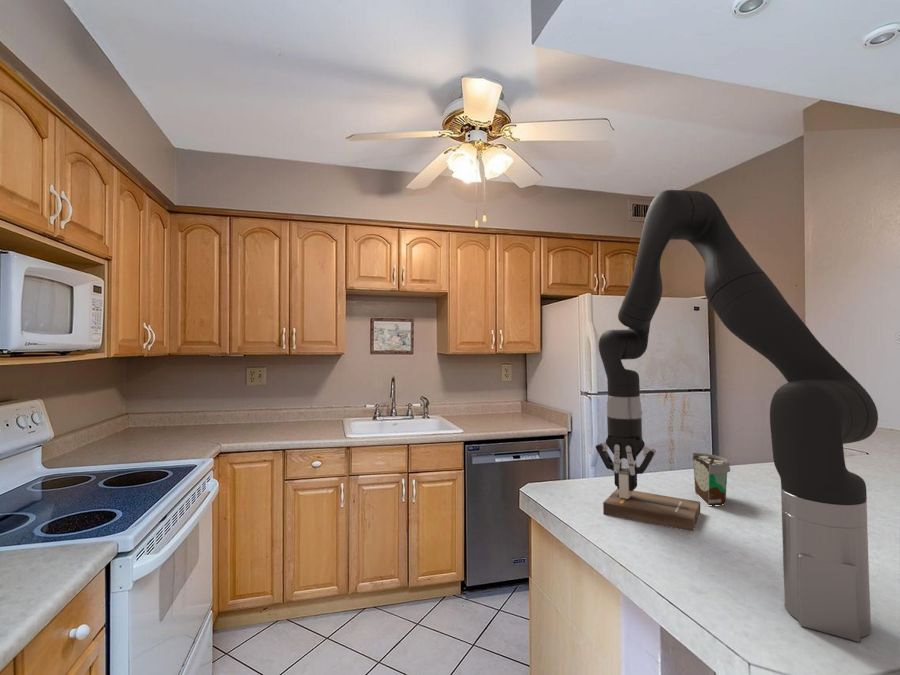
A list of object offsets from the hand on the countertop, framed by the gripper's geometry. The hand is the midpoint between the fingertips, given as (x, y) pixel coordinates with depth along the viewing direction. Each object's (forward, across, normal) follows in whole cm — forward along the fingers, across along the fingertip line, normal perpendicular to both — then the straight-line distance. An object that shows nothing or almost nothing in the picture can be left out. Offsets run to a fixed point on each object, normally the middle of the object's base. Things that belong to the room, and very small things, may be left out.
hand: (626, 488), depth 104 cm
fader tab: (+2, 0, 0) cm, 2 cm away
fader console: (+5, +6, 0) cm, 7 cm away
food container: (+5, +16, +17) cm, 24 cm away
